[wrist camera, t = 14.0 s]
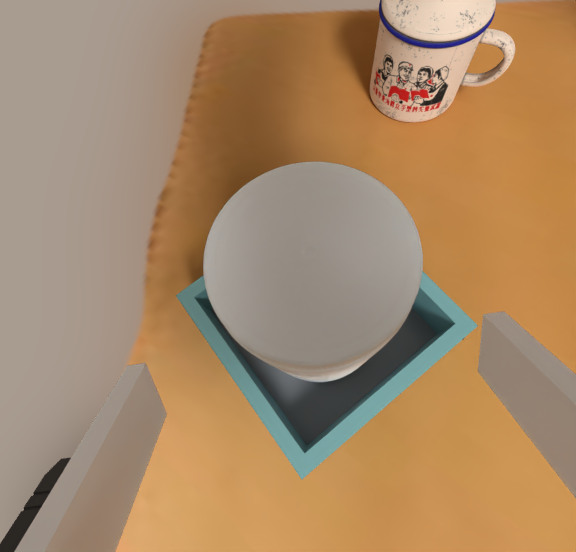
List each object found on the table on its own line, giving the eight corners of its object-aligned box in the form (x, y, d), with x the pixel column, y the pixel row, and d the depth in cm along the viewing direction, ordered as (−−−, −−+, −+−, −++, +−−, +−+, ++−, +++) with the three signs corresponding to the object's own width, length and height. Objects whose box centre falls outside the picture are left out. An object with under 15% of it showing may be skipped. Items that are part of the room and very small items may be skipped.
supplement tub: (342, 249, 30) (359, 123, 16) (400, 349, 27) (483, 297, 13) (240, 298, 30) (168, 209, 16) (287, 406, 26) (250, 414, 12)
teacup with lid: (354, 113, 36) (368, -11, 25) (382, 51, 39) (407, -86, 28) (472, 144, 34) (546, 22, 23) (495, 76, 36) (570, -64, 25)
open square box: (451, 337, 28) (477, 325, 23) (305, 464, 26) (302, 479, 21) (329, 212, 33) (331, 181, 28) (198, 311, 31) (175, 295, 26)
